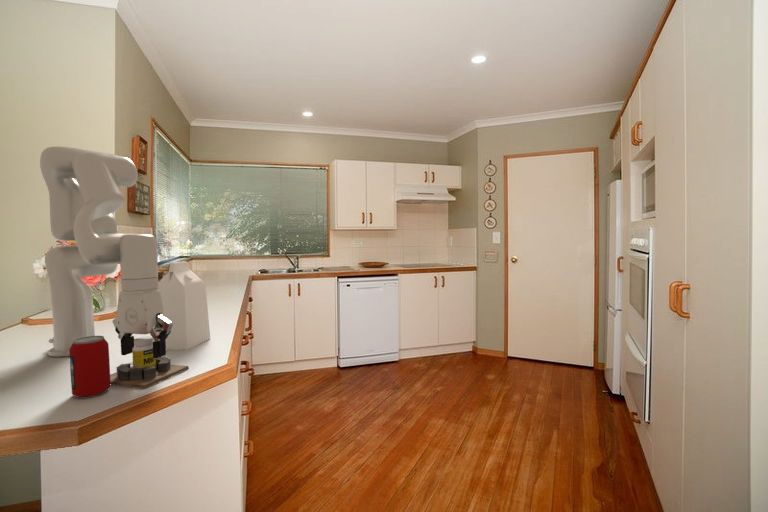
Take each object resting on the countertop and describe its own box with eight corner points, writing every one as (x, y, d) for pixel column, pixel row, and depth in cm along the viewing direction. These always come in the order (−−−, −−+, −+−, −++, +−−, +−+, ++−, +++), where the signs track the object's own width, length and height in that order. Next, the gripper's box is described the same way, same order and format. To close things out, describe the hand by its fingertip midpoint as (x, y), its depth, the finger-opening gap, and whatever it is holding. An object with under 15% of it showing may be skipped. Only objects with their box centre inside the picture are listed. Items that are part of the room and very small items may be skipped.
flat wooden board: (96, 383, 89) (95, 370, 89) (145, 364, 102) (144, 353, 101) (144, 388, 85) (143, 375, 85) (188, 368, 98) (188, 357, 98)
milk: (178, 338, 128) (175, 260, 127) (210, 339, 127) (207, 260, 125) (152, 348, 116) (148, 263, 115) (186, 349, 115) (183, 263, 113)
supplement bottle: (145, 376, 91) (143, 341, 90) (128, 375, 92) (126, 340, 91) (160, 369, 95) (159, 336, 95) (145, 368, 96) (143, 335, 96)
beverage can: (86, 387, 86) (83, 335, 86) (117, 386, 87) (114, 334, 86) (63, 400, 80) (60, 343, 79) (98, 398, 80) (94, 342, 80)
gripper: (97, 286, 91) (101, 357, 92) (155, 288, 86) (159, 362, 87) (126, 282, 98) (130, 348, 99) (181, 284, 93) (184, 353, 94)
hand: (143, 355), depth 93 cm, fingers open, 9 cm apart
